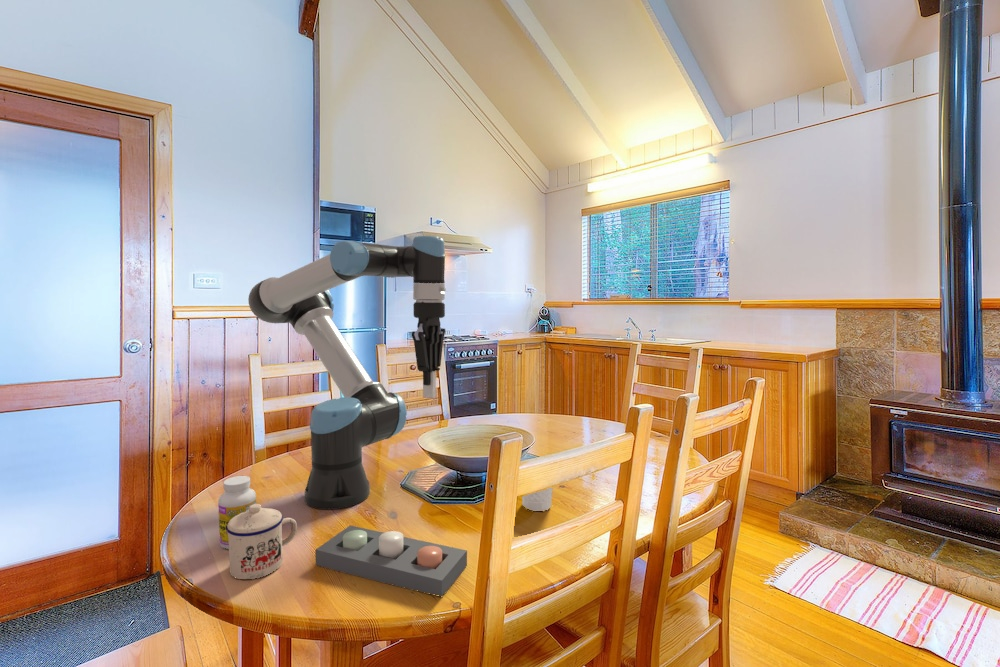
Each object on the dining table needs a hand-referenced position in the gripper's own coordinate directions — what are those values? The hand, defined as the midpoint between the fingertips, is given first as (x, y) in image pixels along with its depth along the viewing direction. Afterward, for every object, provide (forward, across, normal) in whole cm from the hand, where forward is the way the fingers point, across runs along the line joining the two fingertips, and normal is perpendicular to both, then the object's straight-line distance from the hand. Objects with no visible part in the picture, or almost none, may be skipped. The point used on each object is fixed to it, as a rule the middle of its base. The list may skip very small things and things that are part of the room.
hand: (429, 397), depth 119 cm
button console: (+24, -31, -9) cm, 40 cm away
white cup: (+25, +3, -27) cm, 37 cm away
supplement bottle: (+25, -35, +24) cm, 49 cm away
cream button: (+22, -31, -9) cm, 39 cm away
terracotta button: (+24, -31, -17) cm, 43 cm away
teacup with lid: (+25, -39, +13) cm, 48 cm away
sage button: (+24, -31, -1) cm, 39 cm away
